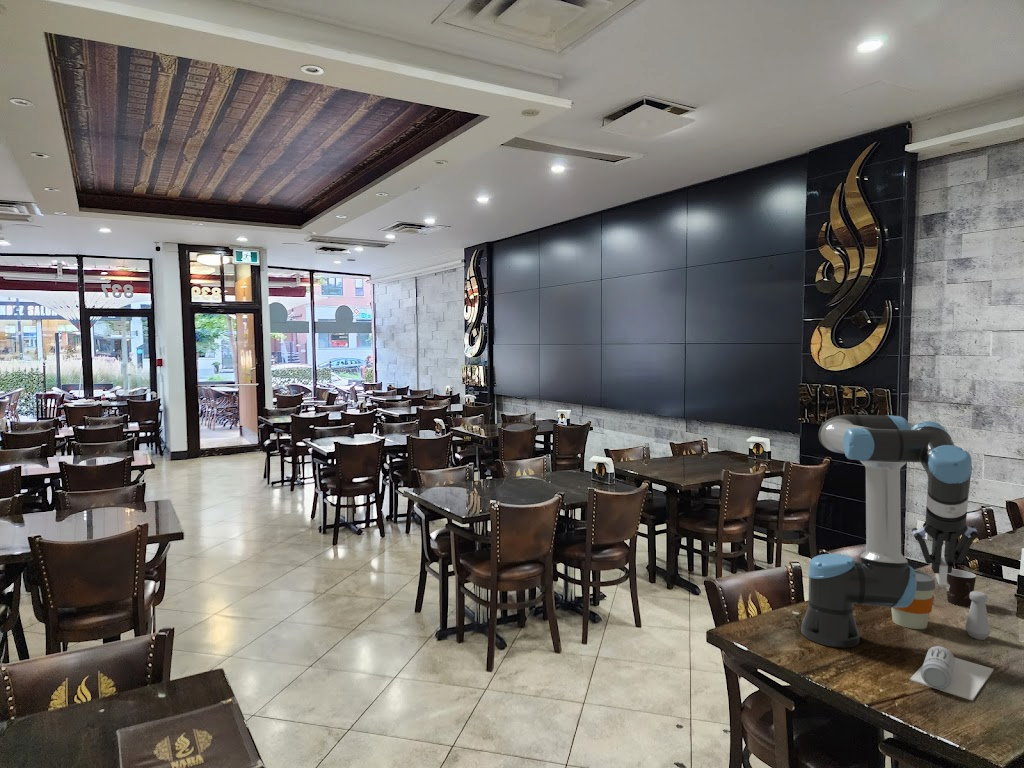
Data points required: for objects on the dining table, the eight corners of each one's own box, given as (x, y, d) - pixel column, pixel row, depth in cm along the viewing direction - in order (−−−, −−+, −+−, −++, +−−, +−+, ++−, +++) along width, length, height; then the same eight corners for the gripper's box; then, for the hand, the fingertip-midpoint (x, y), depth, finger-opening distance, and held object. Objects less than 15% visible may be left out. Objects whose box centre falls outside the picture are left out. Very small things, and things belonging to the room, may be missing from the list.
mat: (972, 700, 149) (972, 699, 149) (909, 680, 158) (909, 678, 158) (993, 670, 164) (993, 668, 164) (934, 653, 173) (934, 651, 173)
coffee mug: (944, 596, 215) (945, 567, 215) (976, 602, 210) (977, 572, 210) (941, 606, 206) (942, 576, 206) (973, 613, 201) (974, 582, 201)
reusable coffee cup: (891, 628, 189) (892, 579, 189) (881, 612, 201) (882, 566, 201) (939, 634, 185) (941, 583, 185) (927, 617, 197) (928, 570, 197)
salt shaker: (994, 642, 180) (995, 597, 180) (971, 640, 181) (972, 595, 181) (983, 633, 186) (984, 589, 186) (961, 631, 187) (962, 588, 187)
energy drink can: (920, 661, 155) (928, 641, 166) (920, 686, 155) (927, 663, 167) (950, 669, 151) (955, 647, 163) (949, 694, 151) (955, 670, 163)
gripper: (918, 521, 140) (914, 593, 152) (987, 518, 136) (978, 593, 147) (908, 498, 146) (905, 569, 158) (974, 495, 142) (966, 568, 153)
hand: (940, 580), depth 153 cm, fingers closed
